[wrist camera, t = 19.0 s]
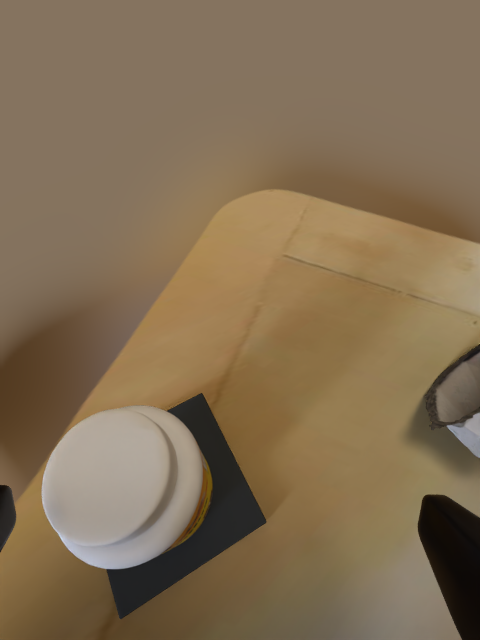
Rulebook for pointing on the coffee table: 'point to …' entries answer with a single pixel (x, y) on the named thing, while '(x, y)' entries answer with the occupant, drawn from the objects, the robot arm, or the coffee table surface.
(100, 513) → the supplement bottle
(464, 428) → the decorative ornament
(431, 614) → the coffee table surface
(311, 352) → the coffee table surface
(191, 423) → the mat
